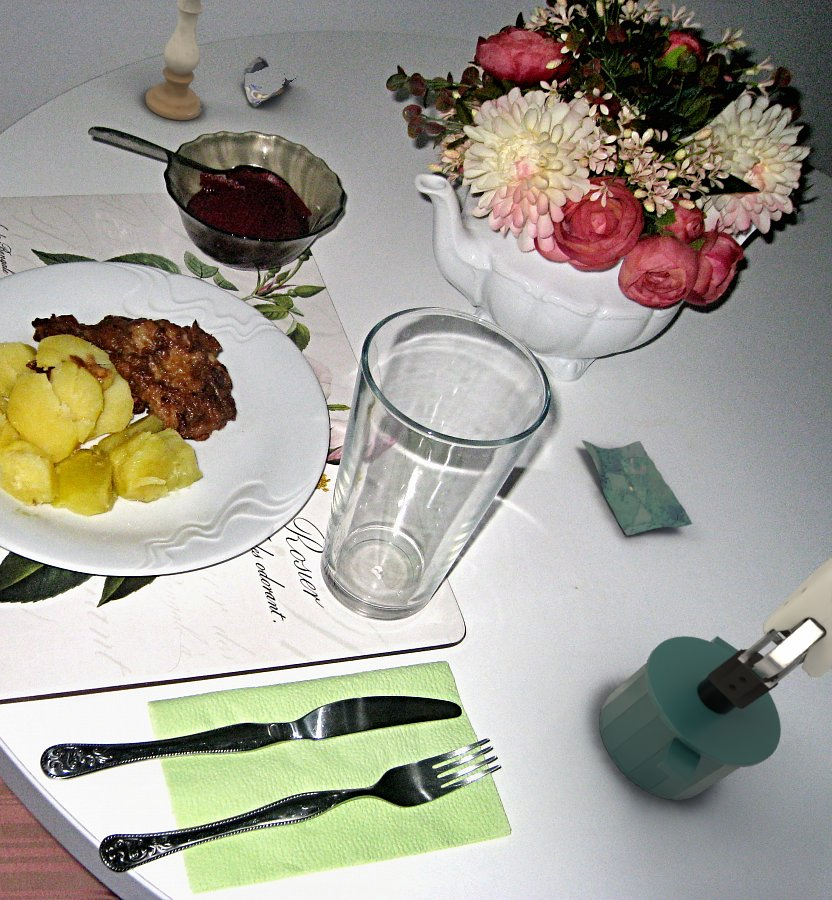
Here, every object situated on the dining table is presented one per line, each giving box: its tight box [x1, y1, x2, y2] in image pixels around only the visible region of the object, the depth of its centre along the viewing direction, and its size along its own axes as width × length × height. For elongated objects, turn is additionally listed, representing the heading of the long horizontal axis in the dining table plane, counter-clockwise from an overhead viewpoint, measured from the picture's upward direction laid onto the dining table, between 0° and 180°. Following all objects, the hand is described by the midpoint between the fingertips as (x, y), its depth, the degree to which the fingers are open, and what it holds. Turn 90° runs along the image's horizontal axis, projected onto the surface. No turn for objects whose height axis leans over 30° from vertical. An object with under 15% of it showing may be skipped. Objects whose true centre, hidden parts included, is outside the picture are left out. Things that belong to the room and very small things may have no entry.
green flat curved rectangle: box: [581, 439, 693, 536], centre depth 102 cm, size 13×8×2 cm, turn 10°
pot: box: [599, 635, 741, 801], centre depth 78 cm, size 10×16×8 cm, turn 142°
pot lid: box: [645, 635, 782, 768], centre depth 73 cm, size 11×11×7 cm
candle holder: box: [145, 0, 204, 121], centre depth 131 cm, size 9×9×20 cm
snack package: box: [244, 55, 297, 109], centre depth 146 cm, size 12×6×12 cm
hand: (755, 661), depth 70 cm, fingers open, 9 cm apart
